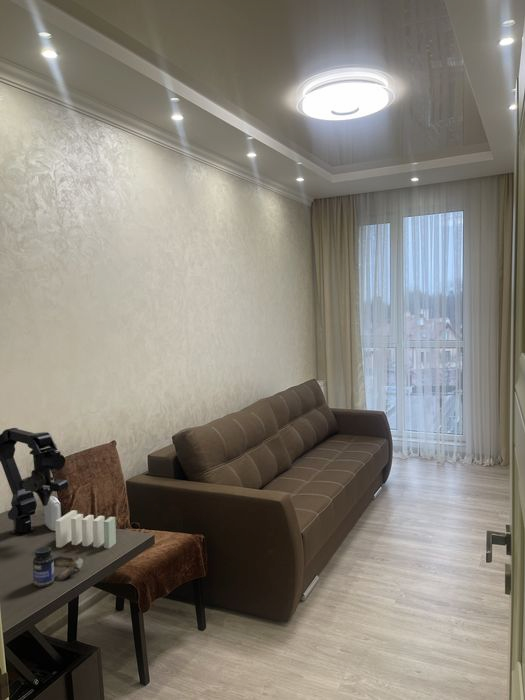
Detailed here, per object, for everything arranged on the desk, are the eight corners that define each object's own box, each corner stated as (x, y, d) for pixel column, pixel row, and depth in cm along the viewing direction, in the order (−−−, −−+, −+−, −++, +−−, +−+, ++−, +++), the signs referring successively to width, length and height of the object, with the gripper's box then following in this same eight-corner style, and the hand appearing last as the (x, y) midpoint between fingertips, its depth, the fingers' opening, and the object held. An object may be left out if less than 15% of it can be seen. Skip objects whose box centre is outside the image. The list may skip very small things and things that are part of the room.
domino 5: (104, 548, 196) (103, 521, 195) (111, 542, 200) (110, 516, 200) (109, 548, 195) (108, 522, 195) (115, 542, 200) (115, 517, 199)
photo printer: (43, 524, 218) (42, 495, 217) (54, 522, 221) (53, 492, 220) (51, 532, 210) (50, 501, 210) (62, 529, 213) (61, 499, 212)
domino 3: (82, 545, 198) (81, 519, 197) (89, 540, 203) (89, 514, 202) (87, 546, 197) (86, 520, 197) (94, 540, 202) (93, 515, 201)
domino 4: (93, 546, 197) (92, 520, 196) (100, 541, 202) (99, 515, 201) (98, 547, 196) (97, 521, 196) (105, 541, 201) (104, 516, 200)
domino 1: (56, 547, 197) (55, 520, 196) (73, 535, 208) (72, 510, 207) (60, 547, 196) (60, 521, 196) (77, 535, 207) (77, 510, 206)
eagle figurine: (70, 562, 182) (46, 567, 175) (79, 547, 180) (55, 552, 173) (79, 580, 178) (54, 586, 171) (88, 565, 176) (64, 571, 169)
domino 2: (71, 544, 199) (70, 518, 198) (79, 539, 204) (78, 513, 203) (76, 545, 198) (75, 519, 198) (83, 539, 203) (83, 514, 202)
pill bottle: (31, 589, 166) (30, 554, 166) (35, 579, 172) (34, 546, 172) (52, 586, 168) (51, 552, 167) (55, 577, 174) (54, 544, 173)
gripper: (6, 471, 198) (9, 511, 199) (47, 474, 192) (50, 516, 193) (28, 462, 208) (31, 500, 210) (67, 465, 202) (70, 504, 204)
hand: (45, 505), depth 204 cm, fingers closed
